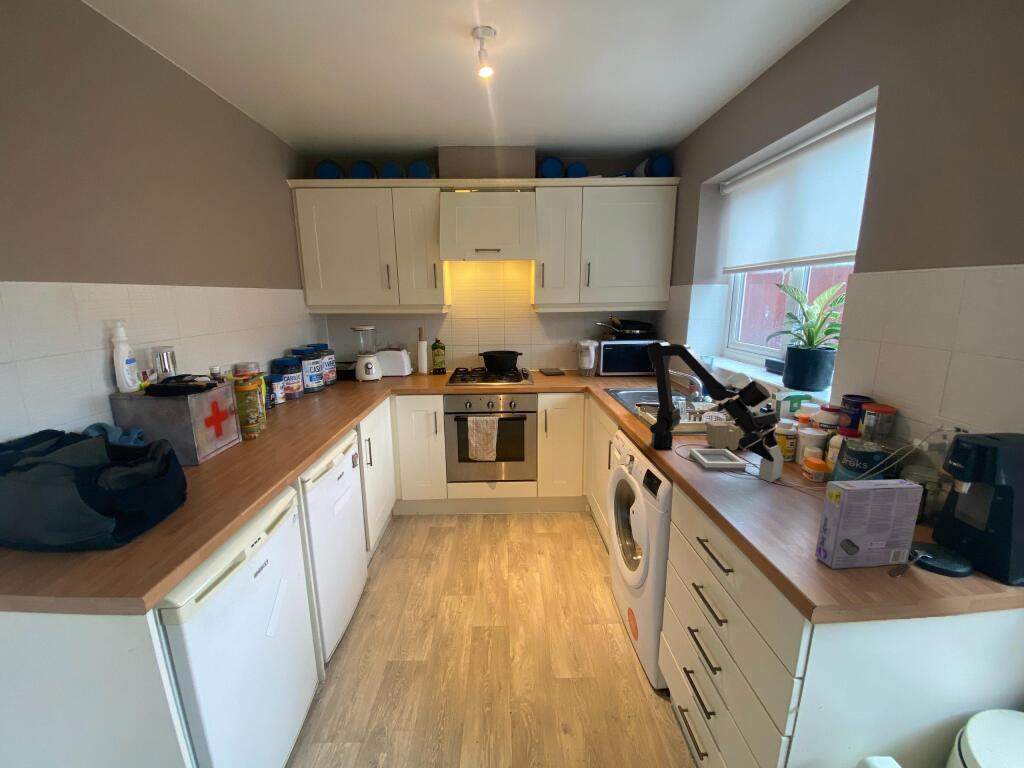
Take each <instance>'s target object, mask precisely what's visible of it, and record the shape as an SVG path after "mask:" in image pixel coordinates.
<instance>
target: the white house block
mask: <svg viewBox="0 0 1024 768" xmlns="http://www.w3.org/2000/svg"><path fill="white" fill-rule="evenodd" d="M767 449H768V450H769V452H770V453H771V455H772V456H773V458H774V461H772V462H770V461H768V460H766V459H765V458H763V457H761V459H760V465H759V471H758V479H760V480H761V479H762V480H765V481H767V482H770V483H772V482H773V481H776V480H777V479H779V478H781V477H782V472H783V466H784V456H783V453H781V451H782V449H781V446H780V444H779V445H776V446H774V447H771V448H769V447H768V448H767ZM780 449H781V450H780Z"/></svg>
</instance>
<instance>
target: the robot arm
mask: <svg viewBox="0 0 1024 768" xmlns="http://www.w3.org/2000/svg"><path fill="white" fill-rule="evenodd" d="M647 353H648V356H649V360H650V362H651V364H652V365H653V367H654V371H655V381H656V388H657V396H658V405H659V406H658V410H657V414H656V421H655V422H654V423H653V424H652V425H650V426H649V430H650V434H651V442H649V445H650V447H652V449H653V450H655V451H673V448H672V447H673V438H674V437H673V432H672V431H674V430H675V428H676V427H678V426H679V424H681V423H680V421H681V420H682V416H681V409H680V407H678V408H676V407H675V405H674V402H673V394H672V383H671V374H670V368H669V367H670V366H669V365H670V361H671V358H672V357H673V356H674V357H679V358H680V359H681V360H682V361H683V363H685V364H686V366H687V367H688V368H689V369H690V370H691V371H692V372H693V373H694V374H695V376H697V377H698V378H699V379H700V381H701V382H702V384H703V386H704V388H705V389H704V390H706V392H707V394H708V395H709V397H710V398H711V399H712V400H713V401H716V402H717V401H718V402H719V403H718V404H717V406H718V407H717V409H716V411H717V413H721V412H722V411H725V412H726V413H727V414H728V416H729V417H730V418H731V420H733V422H734V423H733V425H734V426H736V427H737V426H739V427H740V429H741V430H742V431H743V432H744V433H745V434H743V436H744V437H742V438H741V439H739V445H740V446H741V447H742V449H741V450H743V448H745V447H747V446H748V447H747V448H746V451H749V452H752V453H753V454H755V455H757V456H759V457H761V458H765V459H766V460H768V461H770V462H772V461H774V458H773V456H772V455H771V453H770V452H769V450H768V449H769V448H771V447H774V446H776V445H780V444H779V442H778V441H777V438H776V436H775V434H776V430H777V428H776V426H777V424H779V423H780V422H782V420H781V418H780V415H781V413H780V412H778V410H775V408H773V407H770V408H767V409H766V410H765V413H761V414H758V413H757V412H756V411H753V412H752V411H751V410H750V408H749V407H751V408H756V407H757V406H758V405H760V404H762V403H763V402H765V401H767V400H768V399H769V398H771V394H770V392H769V390H768V389H767V388H766V386H764V385H762V384H761V383H759V382H757V380H756V379H754V380H752V381H750V382H749V383H748V384H747V385H746V386H744V387H742V388H740V387H738V386H734V385H733V384H732V383H730V382H729V381H728V380H727V379H725V378H723V377H722V376H720V375H718V374H716V373H715V372H714V371H713V370H712V369H711V368H710V367H709V366H708V365H707V364H706V363H705V361H704V360H702V358H700V357H699V355H697V353H696V352H695V351H694V350H693V349H692V348H691V346H690V345H689V344H687V343H683V344H678V343H669V342H667V341H666V340H662V341H655V342H652V343H650V344H649V346H648V347H647ZM737 396H738V397H737ZM734 397H736V398H735V399H733V398H734ZM724 400H726V401H724ZM721 401H722V402H721ZM723 401H724V402H723ZM780 450H781V453H782V452H783V451H782V449H781V448H780ZM782 454H783V453H782Z"/></svg>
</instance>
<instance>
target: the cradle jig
mask: <svg viewBox="0 0 1024 768" xmlns="http://www.w3.org/2000/svg"><path fill="white" fill-rule="evenodd" d="M688 455H689V456H690V457H691V458H692V459H693V461H695V462H696V463H697V465H699V466H701V468H702V469H704V471H730V470H731V471H732V470H733V471H734V472H735V471H737V472H738V471H744V472H745V471H746V468H747V463H746V462H745V461H744V460H742V459H741V458H739V457H738V456H737V455H736V454H734V453H732V452H731V450H729V449H728V448H726V449H714V448H690V449H689V454H688Z"/></svg>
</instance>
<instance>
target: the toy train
mask: <svg viewBox="0 0 1024 768" xmlns="http://www.w3.org/2000/svg"><path fill="white" fill-rule="evenodd" d="M704 426H705V427H706V432H705V433H706V434H705V441H707V445H708V446H710V447H711V448H712V449H727V450H729V451H736V450H737V449H738V448H740V449H741V450H742V451H747V450H746V448H747V447H748V446H747V447H745V448H743V449H742V447H741V446H740V445H739V439H741V438H742V437H744V436H743V434H745V433H744V432H743V431H742V430H741V429H740V427H739V426H737V427H736V426H735V425H734V424H732V423H731V422H730V423H729V422H728V423H727V424H726V423H725V422H723V421H720V420H713V421H712V420H711V421H710V420H709V421H707V420H706V421H704Z"/></svg>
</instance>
